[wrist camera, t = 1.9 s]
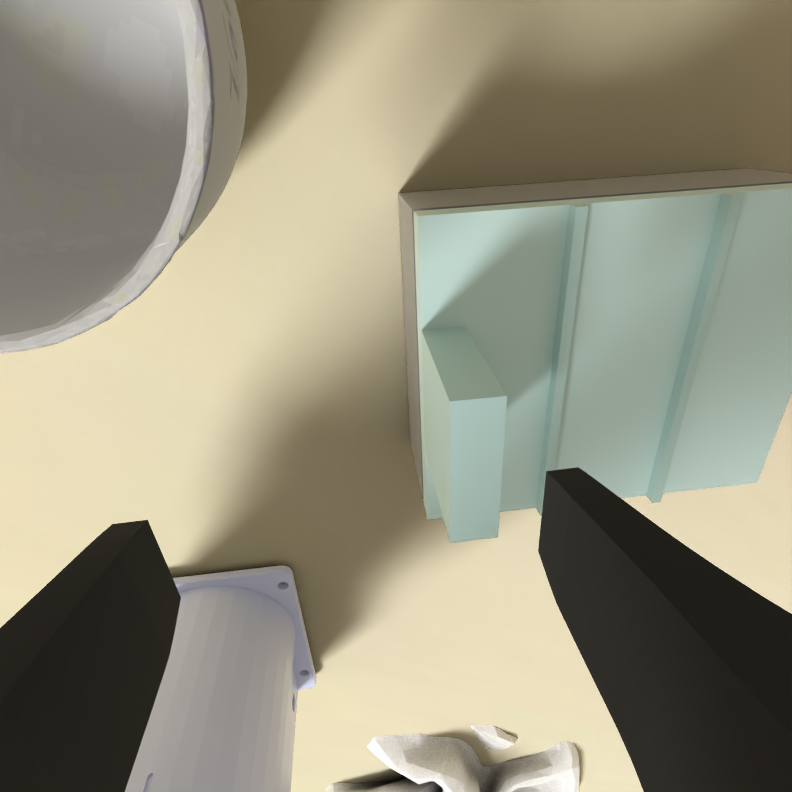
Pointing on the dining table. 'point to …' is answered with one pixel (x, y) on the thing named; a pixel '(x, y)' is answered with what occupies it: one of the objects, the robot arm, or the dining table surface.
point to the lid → (600, 346)
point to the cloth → (468, 766)
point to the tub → (527, 195)
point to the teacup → (108, 151)
